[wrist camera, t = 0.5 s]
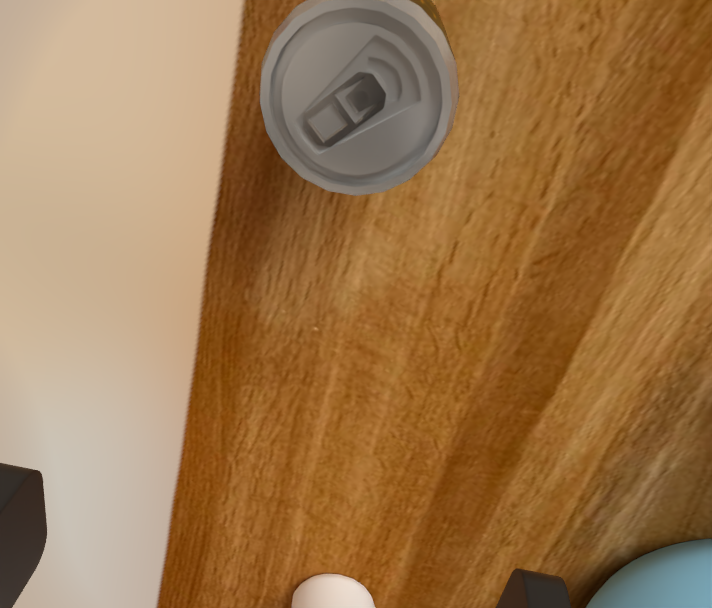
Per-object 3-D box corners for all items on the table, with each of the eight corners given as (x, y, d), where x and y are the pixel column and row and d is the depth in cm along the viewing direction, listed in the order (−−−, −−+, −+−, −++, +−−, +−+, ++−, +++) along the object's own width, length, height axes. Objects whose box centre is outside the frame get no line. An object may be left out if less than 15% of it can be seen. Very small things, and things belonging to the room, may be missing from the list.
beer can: (366, 136, 29) (334, 239, 18) (291, 31, 27) (208, 77, 17) (470, 62, 27) (502, 128, 16) (397, -57, 25) (379, -68, 15)
